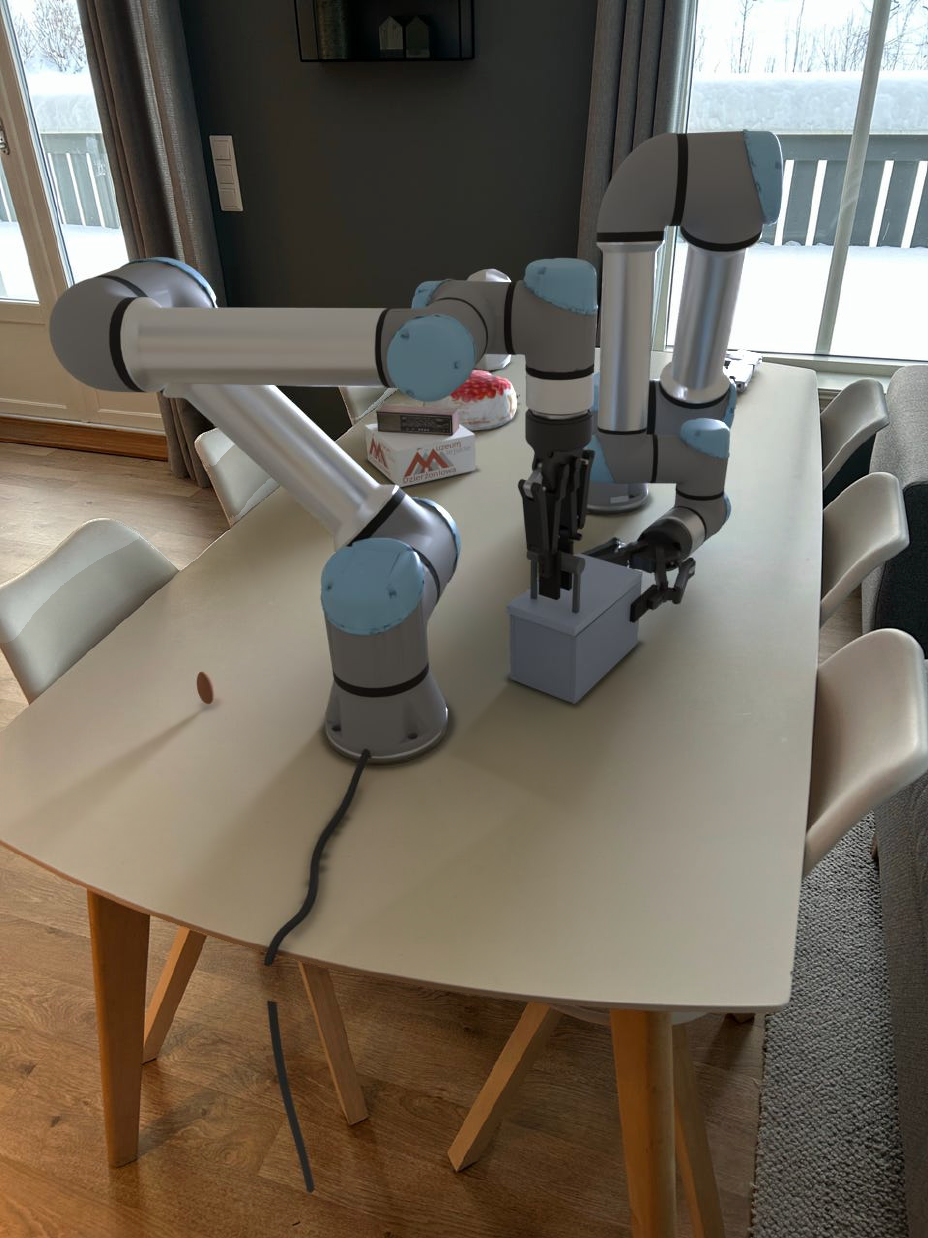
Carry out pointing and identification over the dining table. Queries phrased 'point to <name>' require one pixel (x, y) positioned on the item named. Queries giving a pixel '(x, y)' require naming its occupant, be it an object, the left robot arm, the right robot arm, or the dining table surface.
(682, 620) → the dining table surface
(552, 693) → the chest
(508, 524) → the dining table surface
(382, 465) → the white cardboard box
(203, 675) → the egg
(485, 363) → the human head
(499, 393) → the cake
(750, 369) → the pistol
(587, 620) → the lid
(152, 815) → the dining table surface
